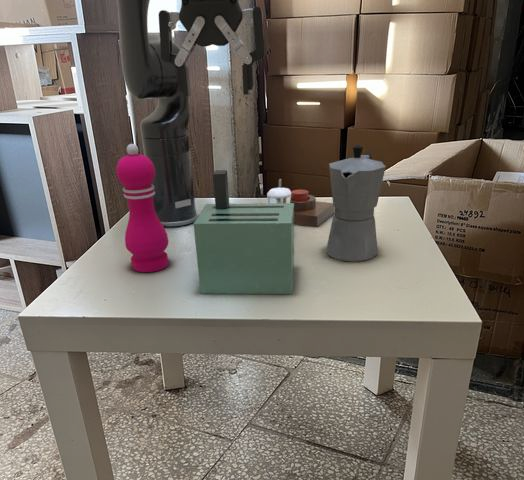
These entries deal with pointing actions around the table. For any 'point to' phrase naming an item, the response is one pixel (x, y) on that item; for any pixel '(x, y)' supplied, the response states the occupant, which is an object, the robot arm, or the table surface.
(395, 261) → the table surface
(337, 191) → the coffeepot
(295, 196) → the button
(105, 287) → the table surface
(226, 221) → the toaster
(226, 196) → the dark grey upright bar
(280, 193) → the milkshake
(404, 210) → the table surface
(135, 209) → the pepper mill
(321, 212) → the block
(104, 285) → the table surface
